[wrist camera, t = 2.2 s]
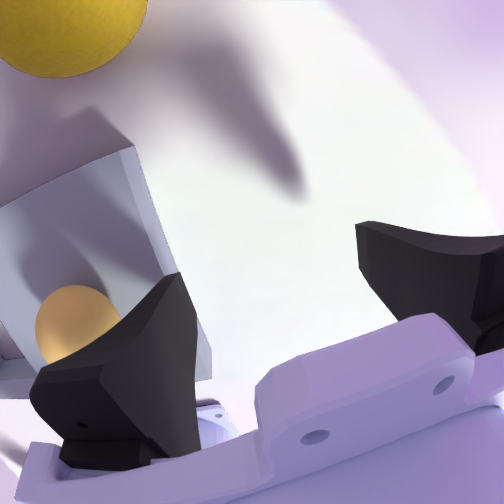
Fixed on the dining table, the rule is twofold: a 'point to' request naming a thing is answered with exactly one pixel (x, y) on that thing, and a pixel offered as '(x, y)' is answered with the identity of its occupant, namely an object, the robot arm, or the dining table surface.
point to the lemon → (66, 34)
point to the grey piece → (80, 254)
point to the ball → (72, 320)
